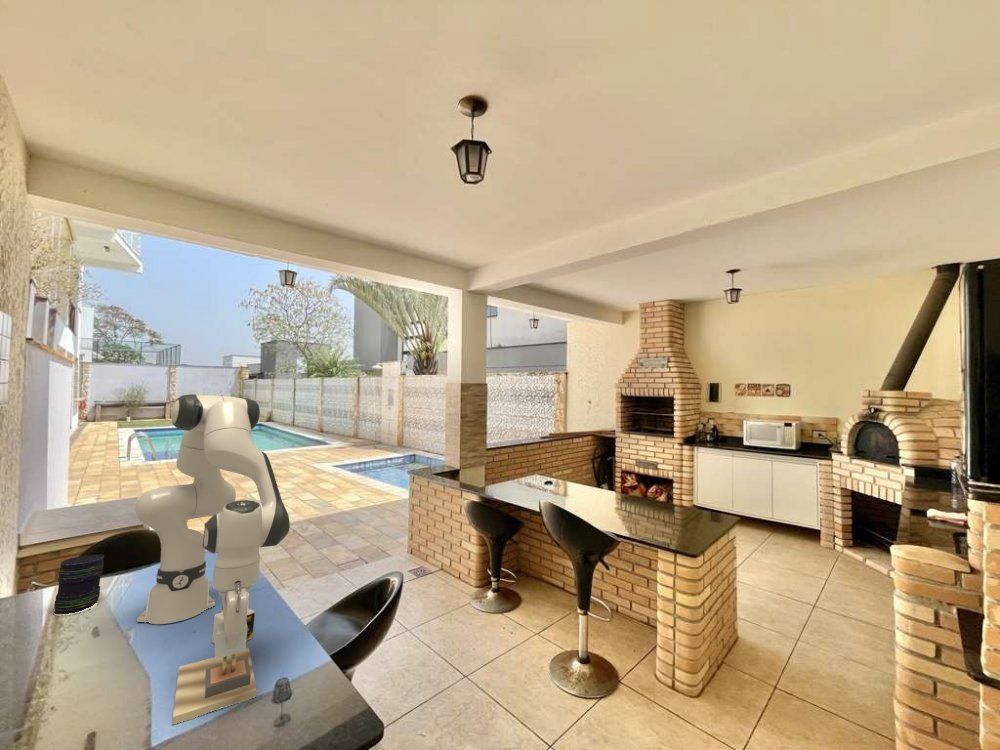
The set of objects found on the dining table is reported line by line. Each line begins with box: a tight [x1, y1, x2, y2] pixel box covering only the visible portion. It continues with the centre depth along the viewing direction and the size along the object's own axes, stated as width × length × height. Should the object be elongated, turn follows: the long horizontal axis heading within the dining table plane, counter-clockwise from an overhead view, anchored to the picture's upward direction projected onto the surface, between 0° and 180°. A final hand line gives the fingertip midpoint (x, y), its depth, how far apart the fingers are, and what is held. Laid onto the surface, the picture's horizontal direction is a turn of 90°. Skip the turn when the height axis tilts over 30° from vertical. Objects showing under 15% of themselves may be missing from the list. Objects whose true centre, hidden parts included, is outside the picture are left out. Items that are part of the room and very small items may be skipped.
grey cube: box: [213, 622, 247, 659], centre depth 90 cm, size 6×6×5 cm
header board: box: [171, 647, 258, 726], centre depth 90 cm, size 20×14×7 cm
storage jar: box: [53, 553, 105, 614], centre depth 126 cm, size 10×10×15 cm
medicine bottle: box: [211, 591, 256, 645], centre depth 109 cm, size 7×7×12 cm
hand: (230, 639), depth 90 cm, fingers closed on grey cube, 6 cm apart
